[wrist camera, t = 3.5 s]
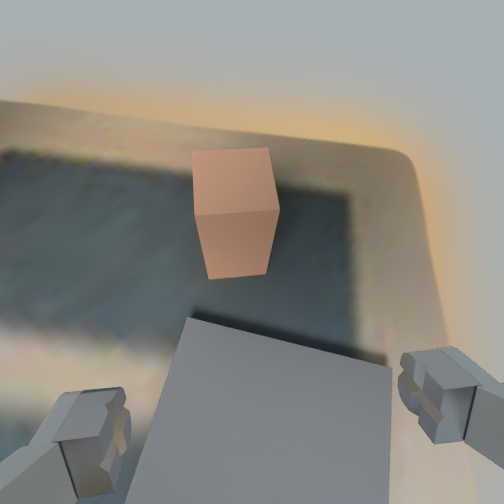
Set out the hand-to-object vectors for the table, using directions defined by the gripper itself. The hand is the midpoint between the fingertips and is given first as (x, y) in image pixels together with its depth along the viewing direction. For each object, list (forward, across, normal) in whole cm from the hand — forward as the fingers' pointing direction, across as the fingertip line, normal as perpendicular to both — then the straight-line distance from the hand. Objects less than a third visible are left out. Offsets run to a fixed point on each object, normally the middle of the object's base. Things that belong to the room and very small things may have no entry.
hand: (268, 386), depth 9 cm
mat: (+9, -1, +12) cm, 15 cm away
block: (+19, 0, +2) cm, 20 cm away
